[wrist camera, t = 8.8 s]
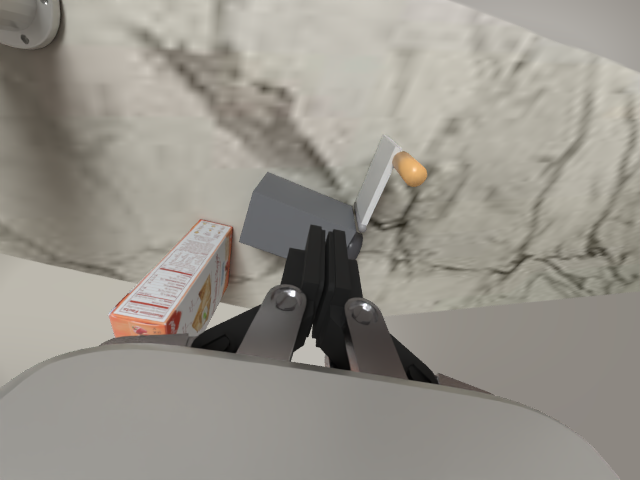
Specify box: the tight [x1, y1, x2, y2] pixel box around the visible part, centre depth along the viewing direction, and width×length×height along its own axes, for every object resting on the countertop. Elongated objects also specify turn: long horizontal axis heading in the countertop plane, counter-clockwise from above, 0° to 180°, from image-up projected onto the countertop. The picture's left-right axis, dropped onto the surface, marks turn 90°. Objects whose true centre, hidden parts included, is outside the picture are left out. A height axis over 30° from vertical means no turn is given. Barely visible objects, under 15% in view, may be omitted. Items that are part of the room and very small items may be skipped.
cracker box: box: [109, 219, 233, 338], centre depth 36 cm, size 14×6×21 cm, turn 165°
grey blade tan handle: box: [354, 135, 427, 233], centre depth 30 cm, size 11×2×13 cm, turn 163°
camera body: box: [239, 172, 363, 260], centre depth 36 cm, size 17×8×9 cm, turn 68°
